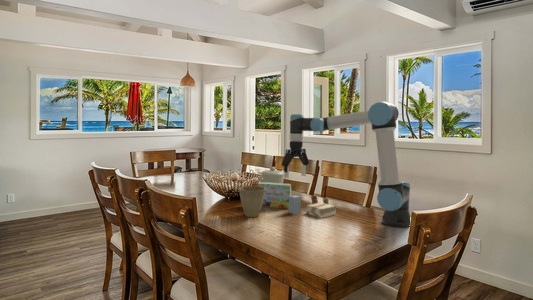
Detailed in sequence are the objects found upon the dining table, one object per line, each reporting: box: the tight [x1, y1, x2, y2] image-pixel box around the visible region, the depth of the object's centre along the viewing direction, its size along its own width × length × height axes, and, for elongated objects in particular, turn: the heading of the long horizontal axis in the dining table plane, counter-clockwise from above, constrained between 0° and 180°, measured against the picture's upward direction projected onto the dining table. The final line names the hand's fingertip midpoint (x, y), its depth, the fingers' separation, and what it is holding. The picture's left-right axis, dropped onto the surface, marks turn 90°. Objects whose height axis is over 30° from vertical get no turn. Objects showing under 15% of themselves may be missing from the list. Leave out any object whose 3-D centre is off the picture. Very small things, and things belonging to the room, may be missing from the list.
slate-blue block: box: [288, 194, 302, 215], centre depth 203 cm, size 5×5×10 cm
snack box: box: [256, 181, 292, 210], centre depth 218 cm, size 21×6×15 cm, turn 76°
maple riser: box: [306, 201, 337, 219], centre depth 202 cm, size 12×12×5 cm
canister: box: [260, 166, 285, 184], centre depth 251 cm, size 18×18×21 cm
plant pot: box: [238, 185, 265, 218], centre depth 196 cm, size 15×15×16 cm
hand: (295, 176), depth 202 cm, fingers open, 13 cm apart
